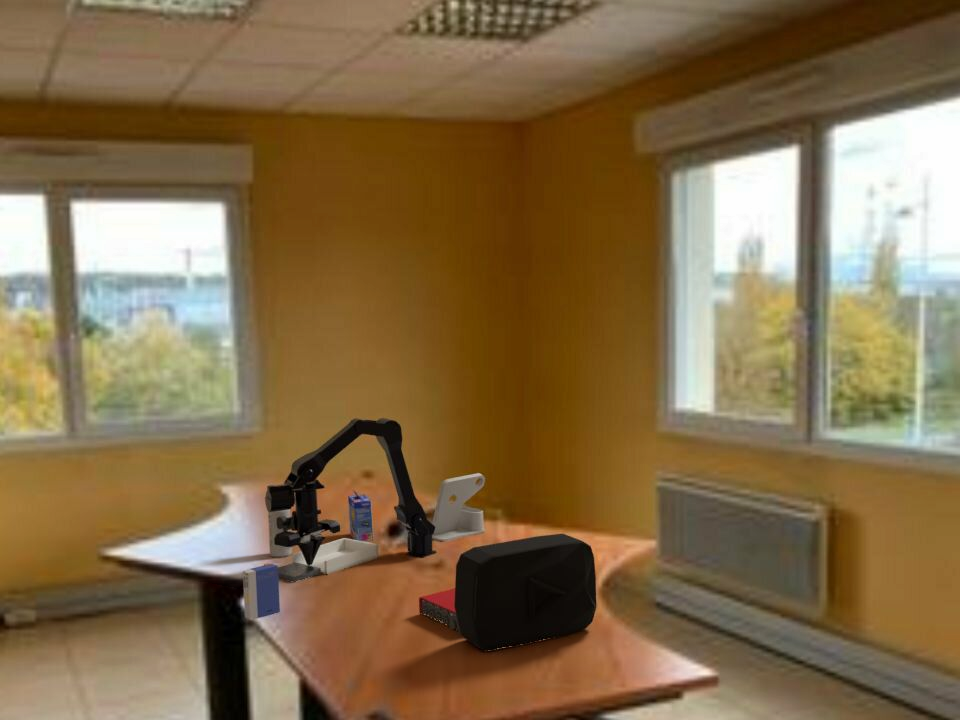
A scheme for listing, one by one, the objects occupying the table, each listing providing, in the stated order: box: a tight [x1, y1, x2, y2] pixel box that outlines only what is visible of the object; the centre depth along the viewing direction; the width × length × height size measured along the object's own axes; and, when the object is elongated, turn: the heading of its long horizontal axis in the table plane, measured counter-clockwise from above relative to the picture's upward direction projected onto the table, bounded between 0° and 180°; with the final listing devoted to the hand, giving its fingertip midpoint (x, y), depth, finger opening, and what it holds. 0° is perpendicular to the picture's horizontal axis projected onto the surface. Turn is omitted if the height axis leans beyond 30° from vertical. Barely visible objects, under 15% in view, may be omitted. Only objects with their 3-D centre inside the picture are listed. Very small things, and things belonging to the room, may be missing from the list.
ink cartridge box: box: [347, 489, 374, 542], centre depth 295 cm, size 10×6×14 cm, turn 19°
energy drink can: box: [267, 509, 293, 558], centre depth 277 cm, size 6×6×15 cm
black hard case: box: [454, 533, 598, 652], centre depth 208 cm, size 30×12×20 cm, turn 118°
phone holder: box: [431, 472, 486, 542], centre depth 297 cm, size 17×10×18 cm, turn 131°
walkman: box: [242, 562, 281, 621], centre depth 226 cm, size 8×3×12 cm, turn 133°
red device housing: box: [418, 587, 460, 632], centre depth 221 cm, size 18×14×5 cm
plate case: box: [291, 537, 379, 575], centre depth 269 cm, size 13×20×4 cm
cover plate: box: [278, 562, 321, 583], centre depth 257 cm, size 10×9×2 cm
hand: (309, 564), depth 261 cm, fingers closed
